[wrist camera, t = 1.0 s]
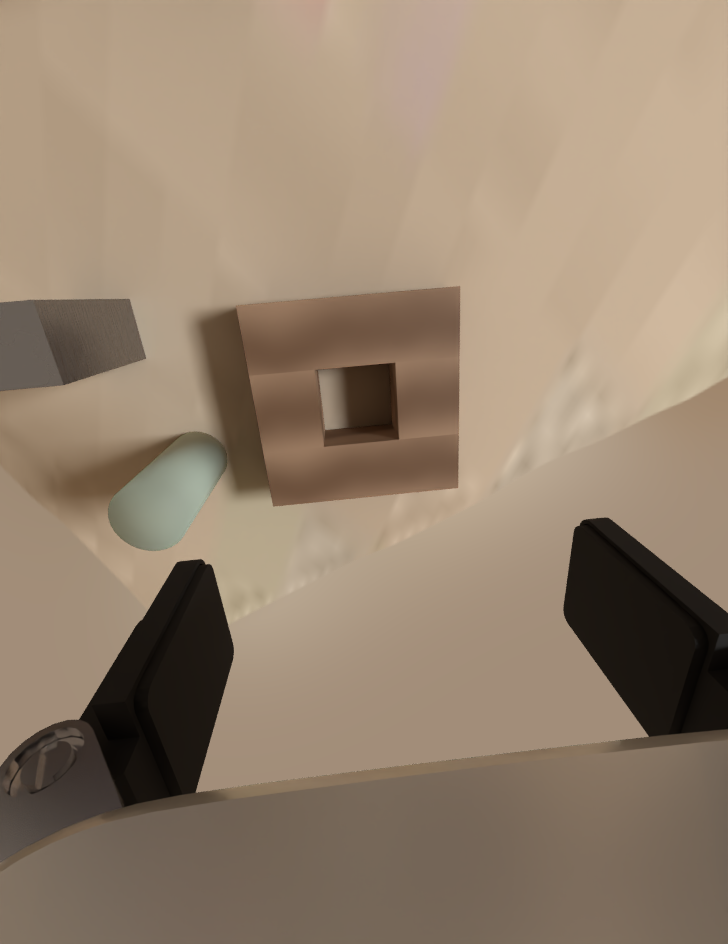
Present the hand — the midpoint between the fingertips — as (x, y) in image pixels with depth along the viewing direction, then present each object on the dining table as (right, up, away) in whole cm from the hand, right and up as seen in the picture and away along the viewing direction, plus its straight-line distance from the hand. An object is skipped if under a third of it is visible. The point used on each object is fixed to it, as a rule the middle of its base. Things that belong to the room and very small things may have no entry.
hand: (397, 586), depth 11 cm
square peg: (-19, +13, +19) cm, 30 cm away
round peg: (-14, +4, +23) cm, 27 cm away
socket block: (-1, +9, +22) cm, 23 cm away
